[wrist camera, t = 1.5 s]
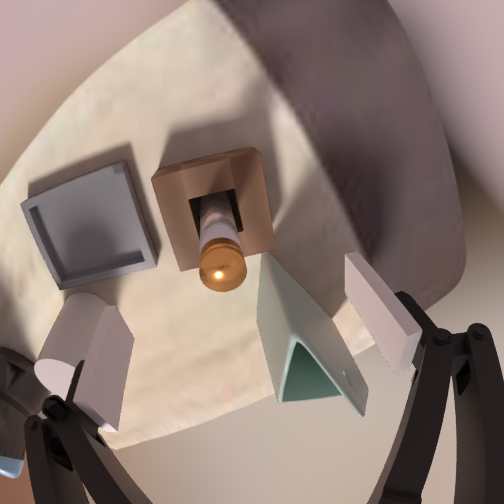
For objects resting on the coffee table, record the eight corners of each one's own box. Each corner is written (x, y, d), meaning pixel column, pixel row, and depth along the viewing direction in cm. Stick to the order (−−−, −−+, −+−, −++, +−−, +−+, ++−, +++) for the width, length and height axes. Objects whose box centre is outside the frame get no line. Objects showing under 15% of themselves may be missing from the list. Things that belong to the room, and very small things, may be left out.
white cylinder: (60, 287, 32) (25, 351, 22) (115, 297, 34) (91, 368, 24) (69, 331, 36) (45, 394, 25) (118, 340, 38) (103, 408, 27)
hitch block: (182, 253, 33) (180, 271, 29) (157, 169, 28) (150, 178, 24) (268, 233, 33) (276, 249, 30) (253, 146, 28) (259, 152, 25)
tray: (64, 282, 32) (59, 290, 30) (27, 198, 26) (20, 203, 25) (158, 258, 33) (156, 266, 31) (125, 159, 27) (121, 162, 25)
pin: (204, 218, 31) (206, 296, 19) (198, 192, 30) (193, 257, 18) (231, 211, 31) (250, 286, 19) (226, 185, 30) (241, 246, 18)
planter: (216, 288, 36) (232, 435, 19) (265, 248, 34) (322, 389, 17) (290, 348, 43) (329, 461, 26) (332, 318, 42) (389, 429, 24)
